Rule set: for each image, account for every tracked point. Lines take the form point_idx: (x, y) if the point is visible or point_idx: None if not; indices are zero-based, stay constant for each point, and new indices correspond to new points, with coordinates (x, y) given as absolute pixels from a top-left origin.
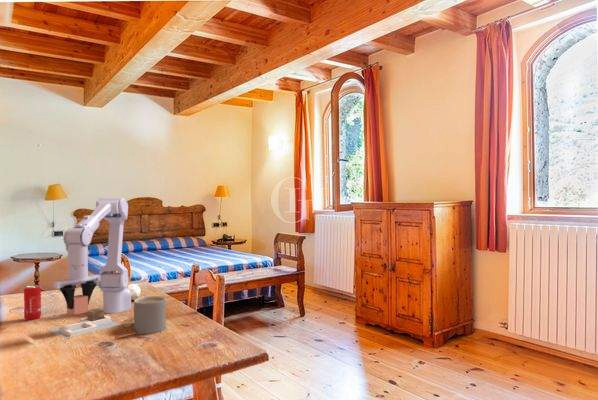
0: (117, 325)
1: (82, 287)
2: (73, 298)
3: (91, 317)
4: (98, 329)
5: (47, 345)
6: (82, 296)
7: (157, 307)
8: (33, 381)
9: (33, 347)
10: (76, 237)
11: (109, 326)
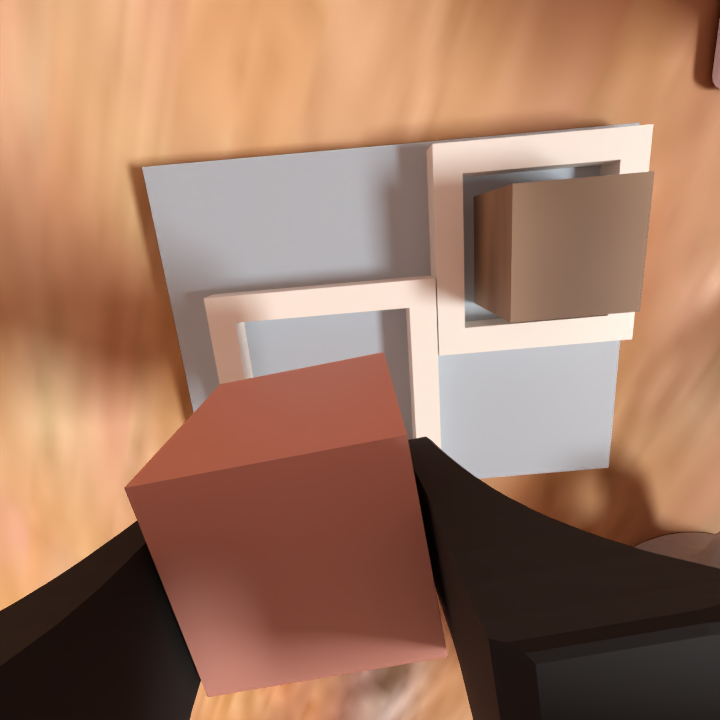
0: (574, 470)
1: (468, 635)
2: (190, 703)
3: (491, 287)
4: None
5: (115, 476)
6: (371, 618)
7: None
8: None
9: (38, 454)
10: None
11: (526, 454)
